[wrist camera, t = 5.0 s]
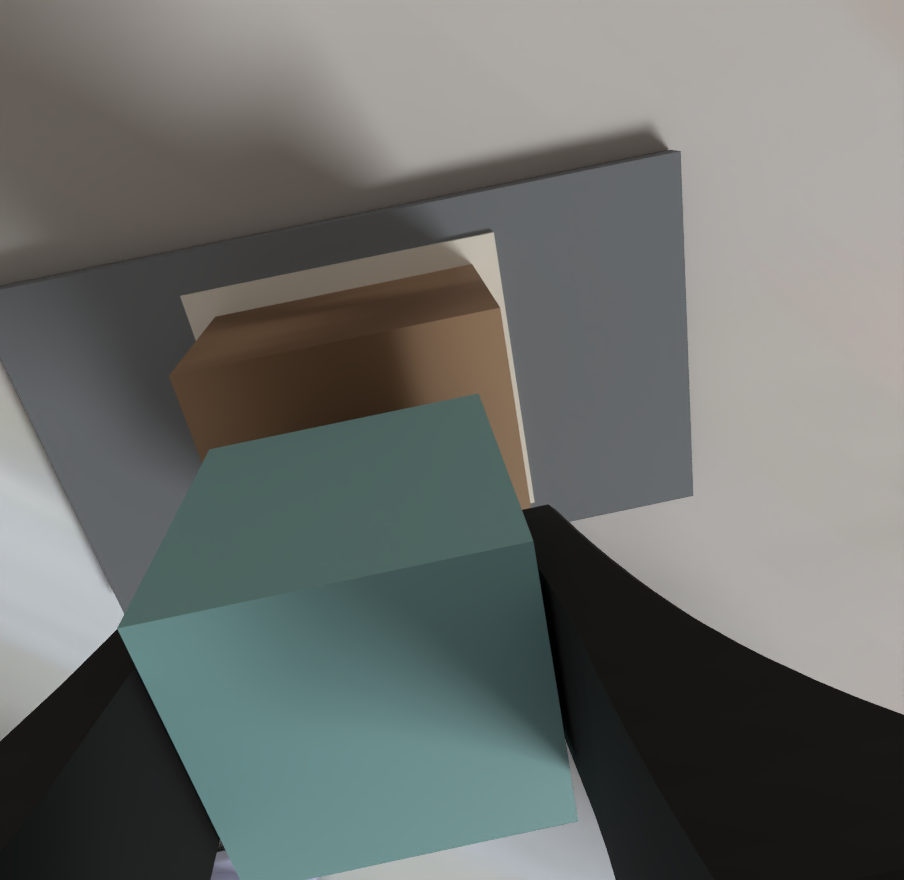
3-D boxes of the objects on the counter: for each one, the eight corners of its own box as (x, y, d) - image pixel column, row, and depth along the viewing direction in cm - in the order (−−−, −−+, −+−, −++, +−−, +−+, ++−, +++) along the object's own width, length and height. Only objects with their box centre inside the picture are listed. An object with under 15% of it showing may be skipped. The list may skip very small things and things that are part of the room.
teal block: (286, 658, 13) (246, 892, 9) (209, 449, 12) (117, 628, 7) (517, 609, 13) (578, 820, 9) (478, 393, 12) (533, 540, 8)
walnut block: (288, 534, 19) (267, 634, 15) (215, 316, 16) (168, 376, 12) (509, 488, 19) (541, 577, 15) (472, 264, 16) (500, 307, 13)
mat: (131, 601, 20) (123, 617, 19) (-17, 289, 16) (-33, 297, 15) (684, 484, 20) (694, 497, 19) (670, 150, 16) (682, 151, 16)
